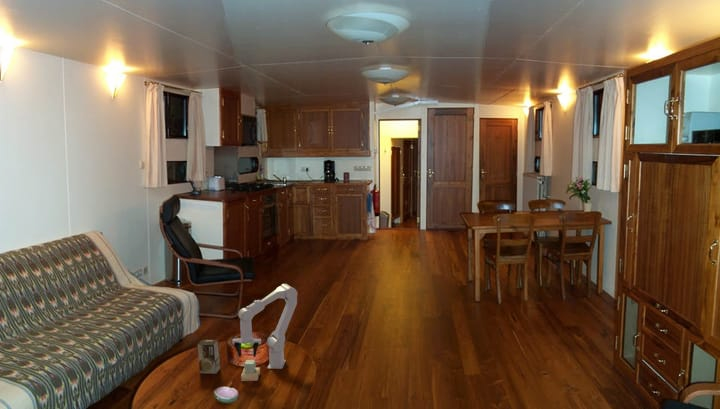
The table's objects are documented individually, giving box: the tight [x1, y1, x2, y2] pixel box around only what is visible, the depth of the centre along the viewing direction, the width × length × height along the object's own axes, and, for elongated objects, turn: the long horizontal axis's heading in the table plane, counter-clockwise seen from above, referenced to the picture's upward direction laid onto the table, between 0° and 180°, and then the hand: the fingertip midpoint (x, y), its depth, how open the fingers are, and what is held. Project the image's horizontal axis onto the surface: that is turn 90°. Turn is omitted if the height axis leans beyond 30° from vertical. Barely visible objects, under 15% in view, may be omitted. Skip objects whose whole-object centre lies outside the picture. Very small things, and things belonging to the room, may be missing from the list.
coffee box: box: [197, 339, 221, 375], centre depth 263 cm, size 9×6×16 cm
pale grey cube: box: [243, 359, 257, 373], centre depth 256 cm, size 5×5×5 cm
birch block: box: [240, 367, 261, 382], centre depth 256 cm, size 8×8×4 cm
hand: (247, 356), depth 259 cm, fingers open, 7 cm apart
